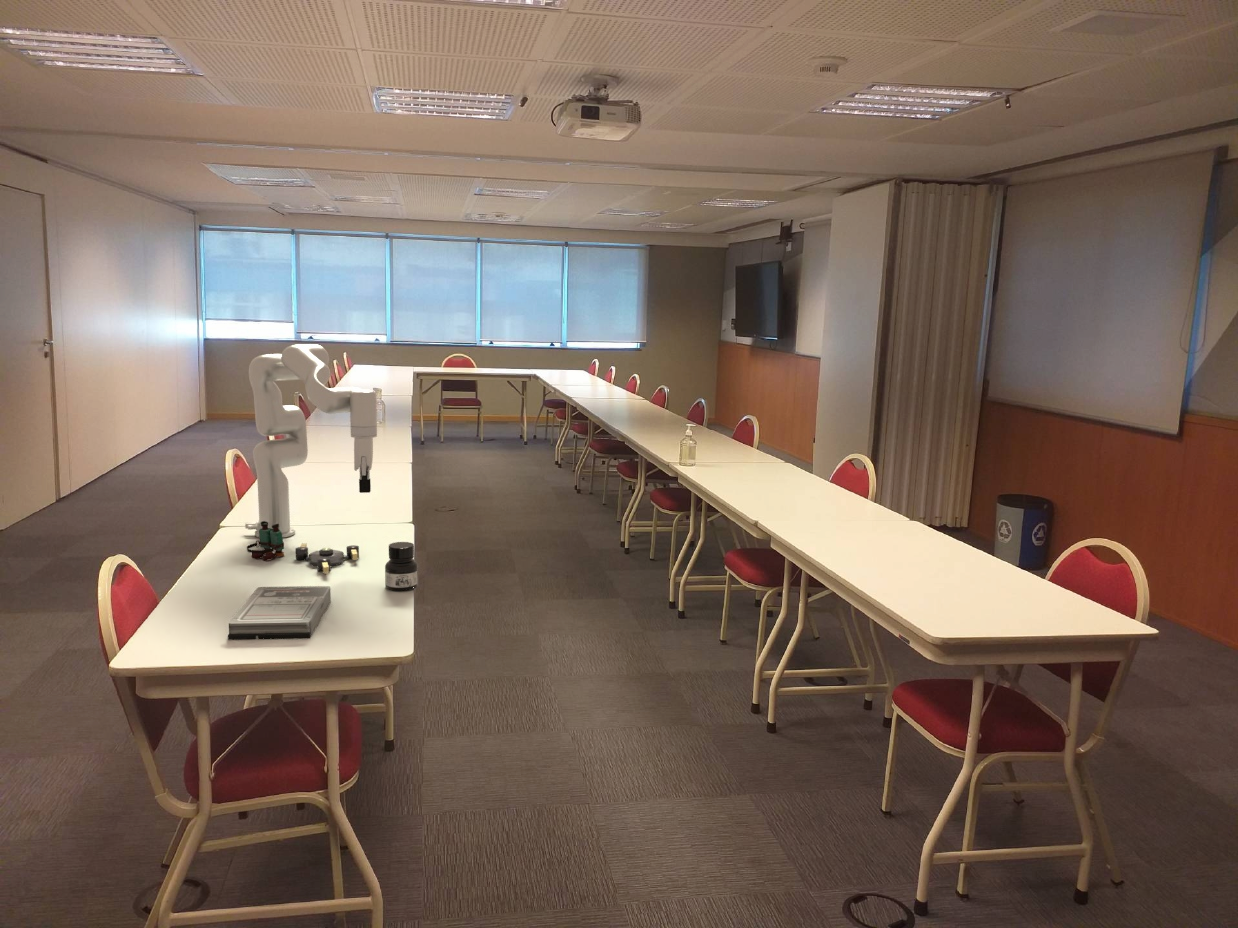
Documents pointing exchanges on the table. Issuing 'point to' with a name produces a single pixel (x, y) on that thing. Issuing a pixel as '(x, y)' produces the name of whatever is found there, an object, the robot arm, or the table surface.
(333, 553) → the tribrach plate
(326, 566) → the knob
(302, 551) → the knob
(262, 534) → the binoculars
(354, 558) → the knob
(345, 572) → the table surface
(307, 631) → the hard drive
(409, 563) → the ink bottle
